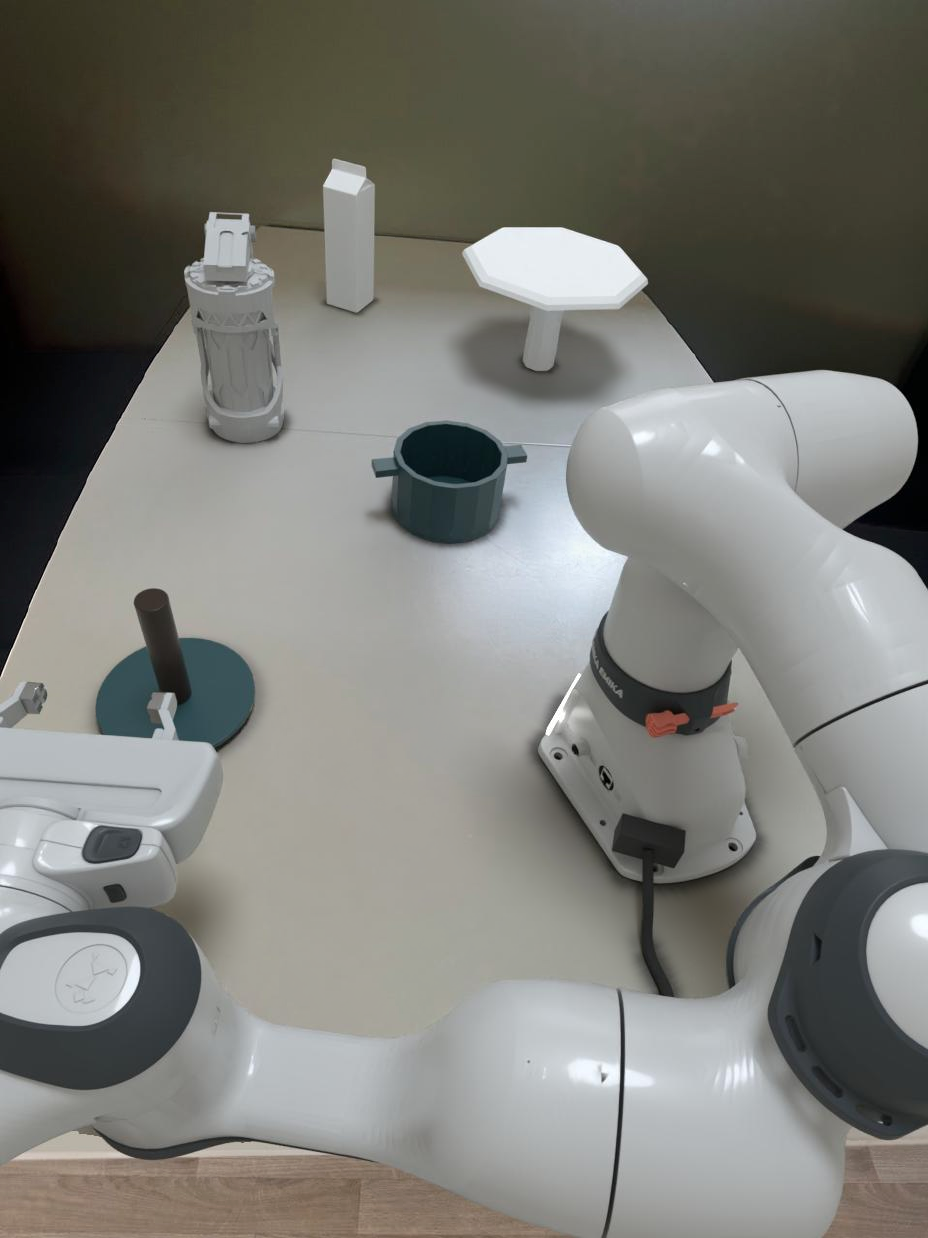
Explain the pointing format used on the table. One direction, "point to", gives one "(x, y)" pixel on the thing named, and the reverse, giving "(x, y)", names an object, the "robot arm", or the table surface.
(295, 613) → the table surface
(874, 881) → the robot arm
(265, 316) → the lantern
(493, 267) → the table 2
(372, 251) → the milk
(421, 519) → the pot
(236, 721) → the lid
